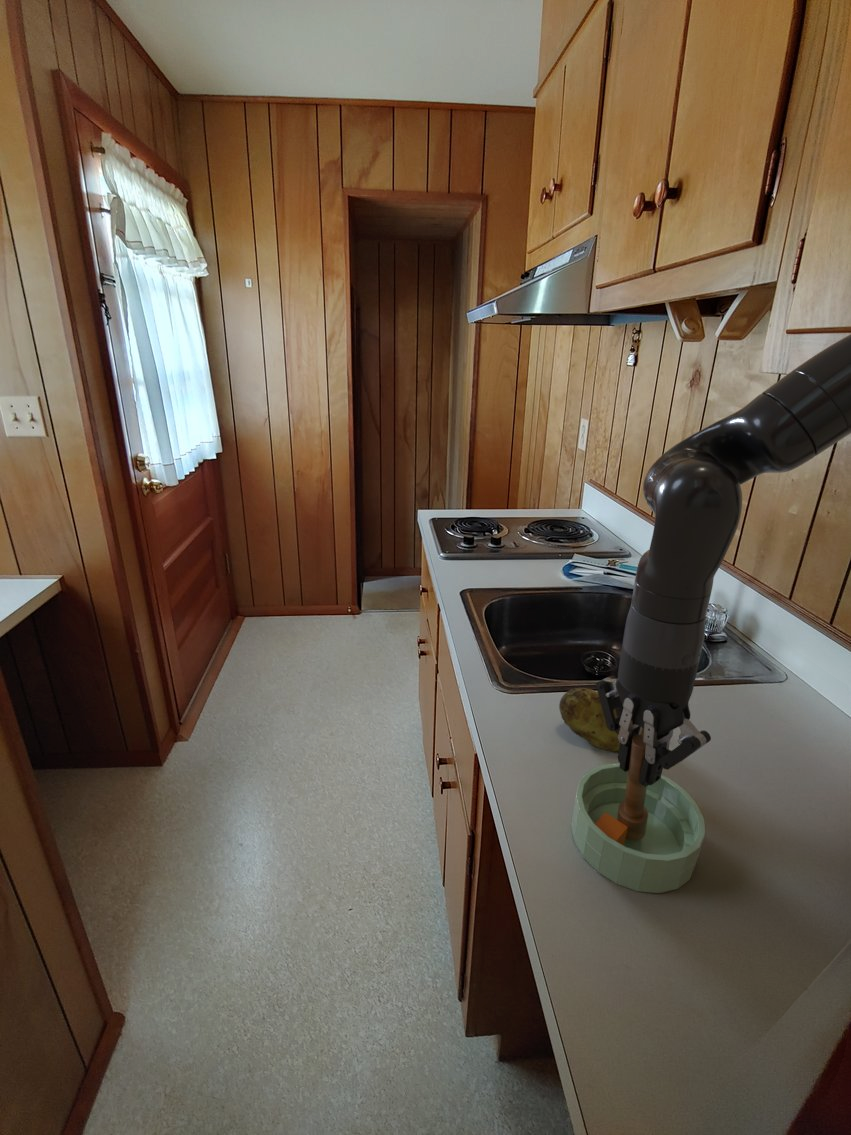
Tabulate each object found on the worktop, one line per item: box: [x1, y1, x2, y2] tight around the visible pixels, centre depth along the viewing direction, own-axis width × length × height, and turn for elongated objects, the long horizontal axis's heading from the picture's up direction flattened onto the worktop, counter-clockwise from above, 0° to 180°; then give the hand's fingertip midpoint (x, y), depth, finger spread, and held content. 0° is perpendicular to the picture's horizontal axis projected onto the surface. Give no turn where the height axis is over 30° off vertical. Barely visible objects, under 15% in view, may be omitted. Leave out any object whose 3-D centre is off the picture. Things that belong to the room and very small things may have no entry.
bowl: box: [570, 762, 706, 894], centre depth 67 cm, size 14×14×6 cm
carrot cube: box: [595, 812, 628, 845], centre depth 66 cm, size 3×3×3 cm
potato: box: [558, 687, 644, 753], centre depth 84 cm, size 8×13×8 cm, turn 56°
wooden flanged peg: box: [617, 735, 648, 840], centre depth 65 cm, size 3×3×14 cm
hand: (637, 774), depth 64 cm, fingers closed on wooden flanged peg, 2 cm apart
